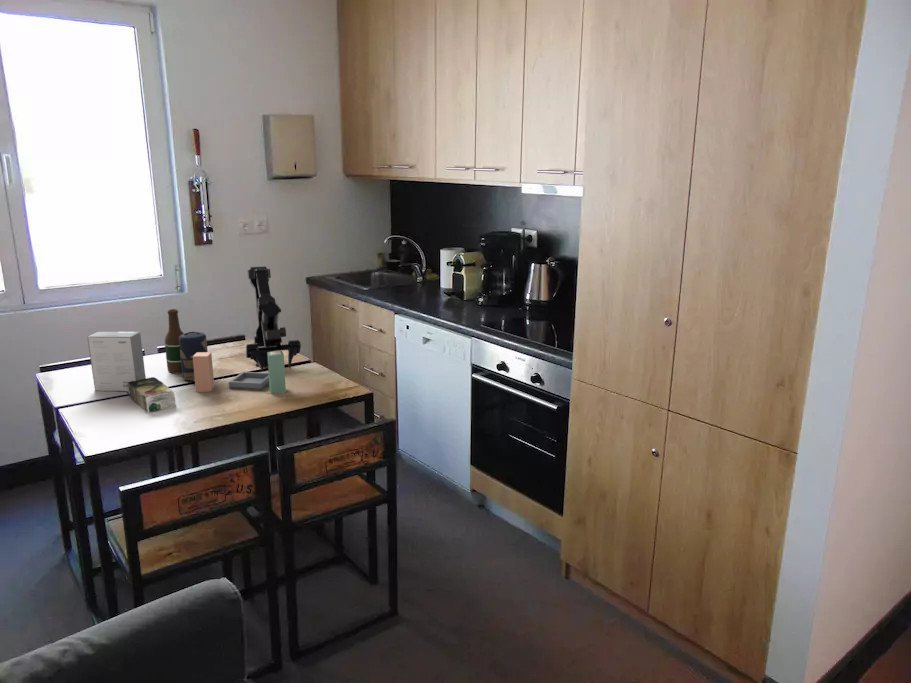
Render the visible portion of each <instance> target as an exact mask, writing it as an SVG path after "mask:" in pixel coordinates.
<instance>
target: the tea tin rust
mask: <svg viewBox="0 0 911 683" xmlns="http://www.w3.org/2000/svg"><path fill="white" fill-rule="evenodd" d="M193 366H194V377H195V381H194V384H195V385H194V386H195V393H196V392H199V393H200V392H201V393H203V392H204V393H205V392H207V393H208V392H209V393H210V392H212V390H214V388H215V380H214V370H213V369H214V368H213V367H214V366H213V356H212V352H211V351H208V352H197V353H196V354H195V355H194V356H193Z"/></svg>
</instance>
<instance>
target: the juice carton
mask: <svg viewBox="0 0 911 683" xmlns="http://www.w3.org/2000/svg"><path fill="white" fill-rule="evenodd" d="M128 386H129V391H128V396H129V398H131V399H132V400H133V401H134V402H135V403H136V404H137V405H138V406H140V407H141V408H142V409H143V410H145V412H147V413H150V412H154V411H156V410H161V409H162V410H165V409H170V408H173V407H177V404H176V396H175V394H176V393H175V391H173V390H172V389H171V388H170V387H168V386H167V385H166V384H165V383H163V381H160V380H159V379H158V378H156V377H154V376H153V377H152V376H151V377H148V378H147V377H146V379H141V380H138V381H131V382H129V383H128ZM162 410H161V411H162Z"/></svg>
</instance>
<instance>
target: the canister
mask: <svg viewBox="0 0 911 683" xmlns="http://www.w3.org/2000/svg"><path fill="white" fill-rule="evenodd" d="M179 345H180V354H181V366H182V373H181V374H182V378H183V379H184V380H186V381H189V382H190V381H191V382H195V377H194V366H193V356H194V355H195V354H196V353H197V352H209V351H208V340H207V334H205V333H204V332H200V331H188V332H185V333H184V334H182V335H180V336H179Z"/></svg>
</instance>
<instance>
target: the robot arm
mask: <svg viewBox="0 0 911 683" xmlns="http://www.w3.org/2000/svg"><path fill="white" fill-rule="evenodd" d="M246 272H247V278H248V280H249V284H250V286H251V287H252V288H253V289H254V294H255V295H254V296H255V305H256V307H255V309H256V312H255V313H256V316H257V328H256V331H255V332H254V336H253V343H247V344H246V345H245V356H246V358H247V359H250V360H253V361H254V362H255V363H256V364H255V367H259V368H260V370H261V371H262V372H264V370H265V368H264V367H268V355H267V352H274V351H287V352H288V354H287V355H288V356H287V359H288V360H287V361H288V362H287V363H288V364H287V365H288V369H289V370H291V367H292V362H293V359H294V357H295V356H297V354H300V353H301V349H302V348H301V346H302V344H301V341H300V340H299V339H293V340H292V339H291V340H288V344H286V343H285V344H282V342H283V340H282V338H285V337H286V336H287V331H286V327H284V326H283V327H279V324H278V322H279V319H280V313H281V312H282V308H281V307H280V306H279V304H278V303H276V299H275V297H273V296H272V294H271V290H270V285H269V284H270V283H269V282H270V279H271V278H272V277H271V276H272V275H271V268H267V266H250V267H249V269H247V270H246Z"/></svg>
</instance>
